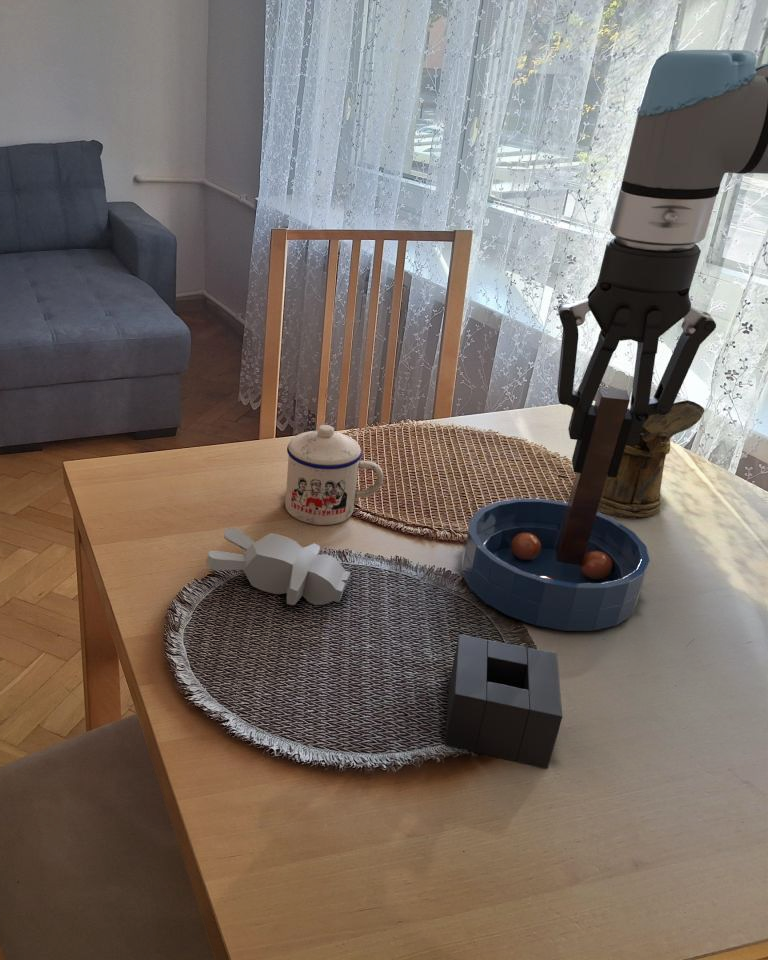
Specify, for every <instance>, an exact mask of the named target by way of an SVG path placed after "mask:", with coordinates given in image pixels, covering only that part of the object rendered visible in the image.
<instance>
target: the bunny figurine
mask: <svg viewBox="0 0 768 960" xmlns="http://www.w3.org/2000/svg"><path fill="white" fill-rule="evenodd" d="M223 537H224V539H225V540H226V541H227V542H229V543H231V544H232V545H235V546H237V547H238V548H240V549H241V550H244V552H242V553H237V552H230V551H223V550H211V551H209V552H208V553H207V556H206V561H205V566H206V568H208V569H209V570H212V571H243V572H244V574H245V576H246V579H247V580H248V581H249V584H250V586H252V587H254V588H256V589H258V590H260V591H263V592H265V593H269V594H274V595H282V594H286V604H287V605H291V606H295V605H296V604H297V603H298V601H300V599H301V598H302V597H303V598H304V599H305V600H306V601H307V603H309V604H312V605H315V606H324V605H326V604H327V605H328V604H329V603H332V602H335V603H340V602H341V599H342V597H343V595H344V592H345V590H346V587H347V585H348V584H349V580H350V575H351V571H348V570H346V569H345V568H344V567H343V565H342V564H341V562H340V561H339V560H338V559H336V558H335V557H334V556H333V555H330V554H326V553H323V554H320V552H321V548H322V546H320V545H319V544H317V543H315V542H313V543H311V544H309V545H306V546H302V545H300V544H299V543H298V542H297V541H296V540H294V539H293V538H290V537H289V536H285V535H282V534H278V533H272V532H270V533H268V534H266V535H265V536H263V537H262V538H260V539H258V540H257V541H254V540H253V539H252V538H251V537H249V536H248V535H247V534H246V533H244V532H242V531H241V530H240V529H238V528H237V527H233V526H232V527H227V528H226V529H224V532H223Z"/></svg>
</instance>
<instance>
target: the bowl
mask: <svg viewBox="0 0 768 960" xmlns="http://www.w3.org/2000/svg"><path fill="white" fill-rule="evenodd" d="M567 505H568V501H567V502H566V501H560V500H554V499H553V500H552V499H547V498H546V499H545V498H538V497H537V498H536V497H535V498H532V497H531V498H510V499H504V500H499V501H494V502H492V503H489V504H487V505H485V506H483V507H481V508H479V509H477V511H476V512H475V513H474V514H473V515H472V517H471V518H470V519H469V521H468V527H467V531H466V537H465V542H464V548H463V552H462V559H461V575H462V578H463V579H464V581H465V583H466V586H467V587H468V588H469V589H470V590H471V591H472V592H473V593H474V594H475V595H476V596H477V597H478V598H479V599H480V600H481V601H482V602H484V603H485V604H487V605H488V606H490V607H492V608H493V609H495V610H497V611H499V612H501V613H502V614H504V615H506V616H508V617H511V618H513V619H516V620H519V621H521V622H524V623H527V624H530V625H533V626H538V627H543V628H547V629H554V630H559V631H565V632H566V631H571V632H573V631H576V632H578V631H581V632H583V631H585V632H586V631H587V632H588V631H589V632H592V631H598V630H602V629H608V628H612V627H615V626H618V625H619V624H621V623H622V622H624V621H626V620H627V619H628V618H630V617H631V616H632V615H633V612H634V611H635V608H636V606H637V604H638V601H639V598H640V594H641V593H642V588H643V586H644V582H645V580H646V576H647V572H648V569H649V566H650V563H651V559H650V555H649V552H648V548H647V545H646V544H645V543H644V541H642V540H641V538H640V537H639V536H638V535H637V534H636V533H635V532H634V531H633V530H632V529H630V528H628V527H627V526H625V525H623V524H622V523H621V522H620V521H618V520H616V519H614V518H612V517H610V516H608V515H606V514H604V513H602V512H600V511H597V514H596V518H595V521H594V525H593V528H592V531H591V535H590V538H589V542H588V545H587V549H586V552H585V554H586V553H587V552H590V551H601V552H604V553H606V554H607V555H608V556H609V557H610V558H611V560H612V563H613V569H612V572H611V573H610V575H609V576H607V577H606V578H604V579H600V580H593V579H590V578H588V577H586V576H585V575H584V574H583V573H582V571H581V569H580V565H575V564H569V563H563V562H557V558H556V546H557V542H558V539H559V535H560V531H561V528H562V524H563V520H564V516H565V513H566V509H567ZM523 532H528V533H532V534H534V535H535V536H536V537H538V539H539V540H540V542H541V551H540V553H539V555H538V556H537V557H536V558H534V559H532V560H521V559H519V558H517V557H516V556H515V555H514V554H513V553H512V551H511V541H512V539H513V538H514V537H515V536H516V535H517V534H519V533H523ZM540 575H544V576H548V577H551V578H552V579H554V580H552V579H546V578H543V577H540Z"/></svg>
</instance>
